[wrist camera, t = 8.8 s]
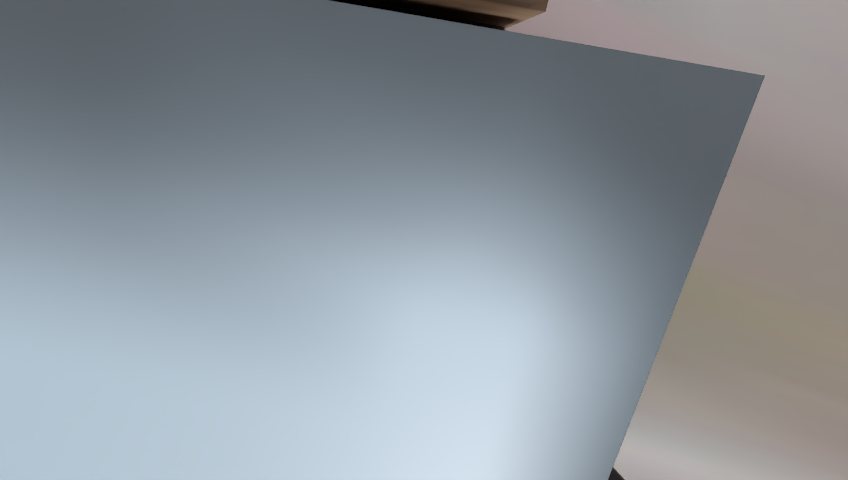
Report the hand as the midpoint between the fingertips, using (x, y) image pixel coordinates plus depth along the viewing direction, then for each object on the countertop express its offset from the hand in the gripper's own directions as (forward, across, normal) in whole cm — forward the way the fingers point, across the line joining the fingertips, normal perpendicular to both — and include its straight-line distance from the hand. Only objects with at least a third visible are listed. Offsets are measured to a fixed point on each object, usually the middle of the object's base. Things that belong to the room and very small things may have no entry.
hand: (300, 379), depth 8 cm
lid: (-1, 0, 0) cm, 1 cm away
